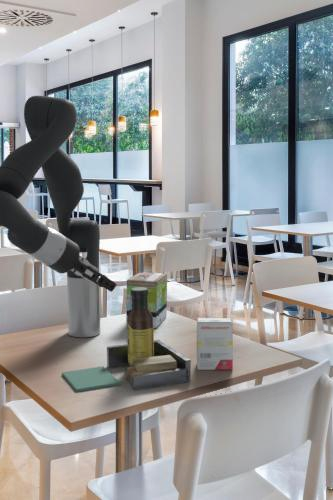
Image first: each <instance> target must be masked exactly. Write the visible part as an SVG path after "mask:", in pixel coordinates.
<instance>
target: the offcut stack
mask: <svg viewBox="0 0 333 500" xmlns="http://www.w3.org/2000/svg"><path fill="white" fill-rule="evenodd" d="M171 369H177V361H176V360H175V359H174V358H173V357H171V356H170V355H165V356H155V357H146V358H136V359H133V367H129V366H127V372H125V379H126V381H127V382H129V383H130V384H131V385H132V375H139V374H145V373H152V372H158V371H165V370H171Z"/></svg>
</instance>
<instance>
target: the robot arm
mask: <svg viewBox="0 0 333 500" xmlns="http://www.w3.org/2000/svg"><path fill="white" fill-rule="evenodd" d="M23 107H24V108H23V119H24V124H25V127H26V130H27V133H28V136H29V139H30V141H28V142H26V143H24V144H23V145H20V146H19V147H17V148H16V149H14V150H12V151H11V152H10V153H9V154H8V155H7V156H6V158H5V159H4V160H3V161H2V163H1V164H0V228H1V227H4V228H6V229H7V233H6V234H7V240H8V241H9V242H10V243H11V244H12V245H13V246H14V247H17V249H20V250H21V251H23V252H25V253H26V254H28V255H30V256H31V257H32V258H33V259H35V260H36V261H38V262H39V263H41V264H43V265H44V266H46V267H48V268H49V269H51V270H53V271H55V272H57V273H58V274H66V281H67V282H66V285H67V318H68V319H67V324H68V325H67V326H68V330H67V331H68V335H69V336H71V337H74V338H92V337H97V336H99V335H100V334H101V299H100V298H101V296H100V294H101V293H100V288H104V289H106V290H108V291H109V292H114V290H115V288H116V287H117V283H116V282H114V281H113V280H111V279H110V278H108V276H107V275H106V274H103V273H101V272H100V244H101V243H100V242H101V241H100V239H101V238H100V237H101V234H100V233H101V232H100V226H99V223H98V221H96V220H92V219H91V220H86V219H83V220H81V219H80V220H79V219H77V220H76V219H72V218H71V217H72V214H73V212H74V211H75V209H76V208H77V206H78V205H79V203H80V202H81V200H82V198H83V197H84V196H83V195H84V191H85V187H84V182H83V177H82V173H81V170H80V168H79V166H78V165H77V163H76V162H75V161H74V159H73V158H72V157H71V156H70V155H69V154H68V153H67V152H66V151H65V150H64V149H63V148H62V145H63V144H64V143H65V142H67V140H68V139H69V138H70V136H71V135H72V134H73V131H74V130H75V127H76V124H77V118H78V117H77V109H76V106H75V104H74V103H73V102H72V101H71V100H70V99H66V98H63V97H62V98H61V97H55V96H54V97H53V96H45V95H32V96H30V97H28V98H27V99H26V101H25V104H24V106H23ZM40 169H42V170H41V171H42V172H43V177H44V180H45V184H46V188H47V189H46V190H47V191H48V194H49V198H50V200H51V203H52V206H53V210H54V214H55V218H56V222H57V229H58V231H57V229H54V228H52V227H49V226H48V225H46V224H45V223H42V222H41V221H40V220H39V219H36V217H34V216H32V215H31V213H29V211H28V210H27V208H25V207H24V206H23V204H22V203H21V202H20V201H19V200H18V199H20V198H21V197H22V196H23V195H24V193H25V192H26V191H27V189H28V188H29V186H30V184H31V183H32V181H33V180H34V178H35V176H36V175H37V173H38V172H39V170H40ZM81 253H86V256H85V258H84V257H83V256H82V255H80V254H81Z"/></svg>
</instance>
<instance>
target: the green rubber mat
mask: <svg viewBox="0 0 333 500" xmlns="http://www.w3.org/2000/svg"><path fill="white" fill-rule="evenodd" d="M61 375H62V376H63V378H65V380H66V381H67V382H68V383H69V385H71V387H72V389H74V390H75V391H76V393H77V392H83V391H85V392H86V391H89V390H90V391H91V390H96V389H97V390H98V389H104V388H109V387H115V386H121V381H120V380H118V379H117V377H116V376H114V375H113V374H112V373H111V372H110V371H109V370H107V368H105V367H104V366H96V367H89V368H82V369H76V370H75V369H74V370H69V371H62V374H61Z"/></svg>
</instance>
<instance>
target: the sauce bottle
mask: <svg viewBox="0 0 333 500" xmlns="http://www.w3.org/2000/svg"><path fill="white" fill-rule="evenodd" d="M147 295H148V289H147V288H145V287H135V288H132V289H131V296H132V309H131V311H130V313H129V314H128V318H127V326H126V327H127V328H126V331H127V332H126V333H127V334H126V335H127V336H126V337H127V344H128V362H129V365H128V367H133V359H136V358H146V357H154V340H155V339H154V336H155V335H154V333H155V332H154V328H153V316H152V314H151V312H150V311H149V309H148V302H147Z"/></svg>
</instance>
